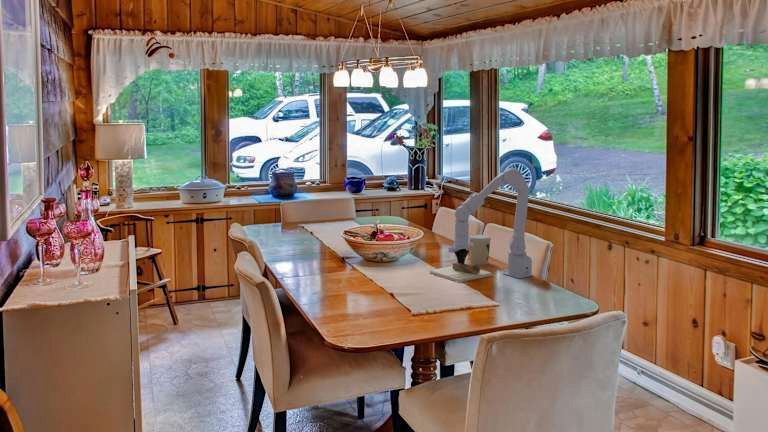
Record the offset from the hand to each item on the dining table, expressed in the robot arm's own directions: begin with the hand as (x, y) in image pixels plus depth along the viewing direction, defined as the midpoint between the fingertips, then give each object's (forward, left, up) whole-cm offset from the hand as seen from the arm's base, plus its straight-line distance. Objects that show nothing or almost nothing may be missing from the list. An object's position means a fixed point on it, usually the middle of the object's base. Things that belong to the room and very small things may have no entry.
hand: (460, 266), depth 285 cm
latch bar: (-4, +1, -1) cm, 4 cm away
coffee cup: (+7, -18, -3) cm, 19 cm away
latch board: (-3, +3, -2) cm, 4 cm away
